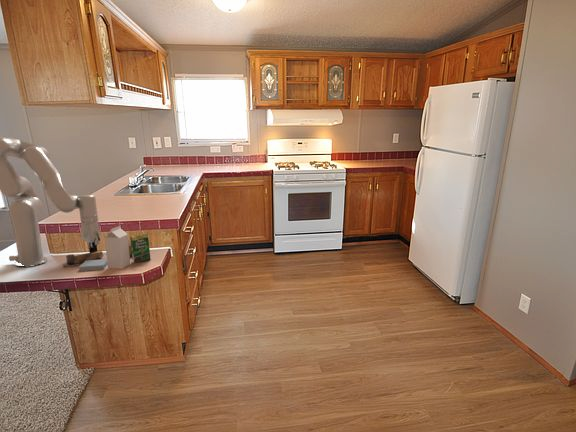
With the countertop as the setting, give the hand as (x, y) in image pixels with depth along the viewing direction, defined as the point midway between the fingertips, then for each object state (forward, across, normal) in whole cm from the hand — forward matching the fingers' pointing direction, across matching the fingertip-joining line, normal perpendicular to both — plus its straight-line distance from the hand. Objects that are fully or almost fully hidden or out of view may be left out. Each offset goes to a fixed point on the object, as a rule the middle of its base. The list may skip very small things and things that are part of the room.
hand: (93, 254), depth 173 cm
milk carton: (+2, +23, -1) cm, 23 cm away
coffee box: (+2, +25, +10) cm, 27 cm away
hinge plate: (+2, +1, -12) cm, 12 cm away
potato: (+2, +11, +13) cm, 18 cm away
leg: (+1, +2, -6) cm, 6 cm away
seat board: (+2, +14, -8) cm, 16 cm away
